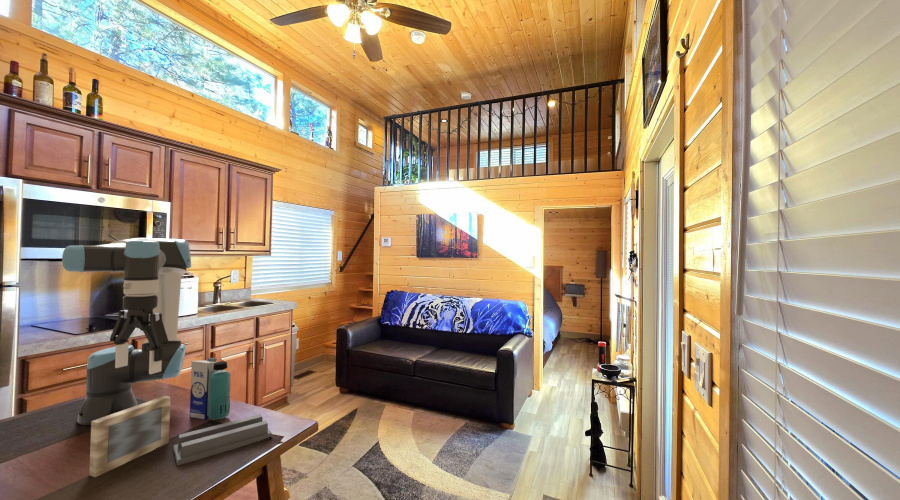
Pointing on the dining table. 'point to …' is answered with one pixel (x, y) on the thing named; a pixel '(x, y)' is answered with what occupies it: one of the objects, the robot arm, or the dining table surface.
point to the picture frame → (128, 434)
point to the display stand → (220, 438)
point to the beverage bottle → (219, 392)
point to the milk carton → (200, 387)
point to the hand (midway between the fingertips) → (137, 369)
